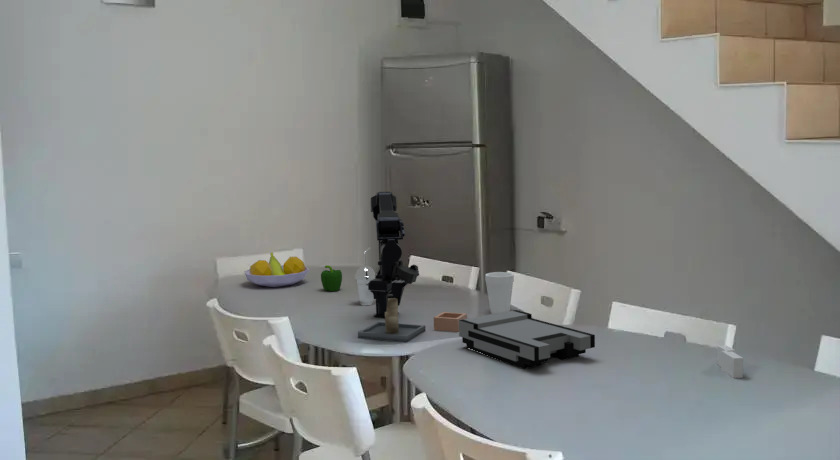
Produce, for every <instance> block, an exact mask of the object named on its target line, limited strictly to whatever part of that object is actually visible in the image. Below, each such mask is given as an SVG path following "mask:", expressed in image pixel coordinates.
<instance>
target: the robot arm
mask: <svg viewBox="0 0 840 460" xmlns="http://www.w3.org/2000/svg"><path fill="white" fill-rule="evenodd" d="M397 202H398V201H397V196H395V195H394V194H393V191H379V192H376V194H375V195H374V196H372V197H370V204H369V205H370V207H369V208H370V213H372V217H373V219H374V220H375V233H376V241H377V243H378V261H377V266H378V267H379V268H378V269H377V271H376V273H375V279H373V280H371V281H370V282H369V283H368V290H370V291H371V292H372V293H373V300H375V314H374V315H373V317H375V318H377V317H379V318H385V312H386V311H387V303H388V298H396V299H398V307H399V306H400V304H401V301H402V298H403V294H404V291H405V287H407V286H408V285H409V284H410V285H411V284H412V285H413V283H416V281H417V278H418V277H419V276H420V271H419V266H418V265H417V264H411V265H410V266H405V265H404V261H403V260H402V259H401V257H402V255H403V253H402V252H403V251H402V248H401V246H400V242H399V241H402V240H404V237H405V228H404V225H405V224H404V222H403V220H402V219H400V216H399V213H398V212H397V210H398V209H397V206H398V203H397ZM399 314H400V312H399V311H398V315H399Z"/></svg>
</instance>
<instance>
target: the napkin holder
mask: <svg viewBox="0 0 840 460" xmlns="http://www.w3.org/2000/svg"><path fill="white" fill-rule="evenodd" d="M716 354H717V355H716V357H717V359H716V363H717V366H719V367H720V371H722V372H723V373H725V374H727V375H728V376H730V377H731V378H733V379H739V378H740V379H741V378H742V379H743V377H744V357H742V356H741V355H739V354H737V353H736V349H734V348H732V347H730V346H728V345H717V353H716Z"/></svg>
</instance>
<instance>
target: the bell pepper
mask: <svg viewBox="0 0 840 460" xmlns="http://www.w3.org/2000/svg"><path fill="white" fill-rule="evenodd" d="M324 268H325V270H324V269H323V271H321V273H320V281H321V284H322V288H323V291H326V292H339V290H340V289H341V286H342V281H343V273H342V271H341V269H333V268H332V266H331V265H325V266H324ZM327 268H328V269H329V270H327Z"/></svg>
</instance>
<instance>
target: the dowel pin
mask: <svg viewBox="0 0 840 460" xmlns="http://www.w3.org/2000/svg"><path fill="white" fill-rule="evenodd" d="M398 312H399V306H398V299H396V298H388V303H387V311H386V312H385V317H384V322H385V329H386V333H390V334H393V333H398V332H399V324H398V323H399V314H398Z"/></svg>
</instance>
